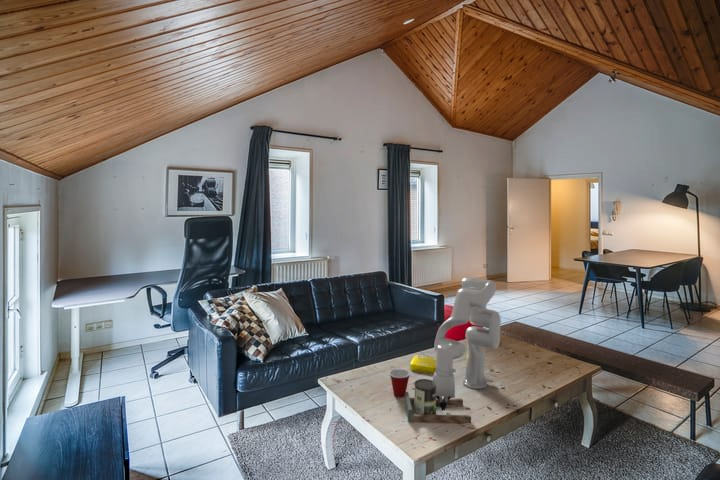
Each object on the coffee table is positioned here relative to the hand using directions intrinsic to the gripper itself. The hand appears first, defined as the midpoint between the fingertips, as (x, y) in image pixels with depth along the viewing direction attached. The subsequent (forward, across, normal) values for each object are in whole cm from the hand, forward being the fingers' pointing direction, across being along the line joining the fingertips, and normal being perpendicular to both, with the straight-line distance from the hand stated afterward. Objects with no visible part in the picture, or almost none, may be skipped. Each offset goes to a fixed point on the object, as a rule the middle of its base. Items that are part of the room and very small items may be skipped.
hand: (442, 408), depth 180 cm
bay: (+2, +3, 0) cm, 4 cm away
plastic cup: (+2, +19, -17) cm, 25 cm away
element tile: (+3, 0, -50) cm, 50 cm away
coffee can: (+2, +8, 0) cm, 9 cm away
